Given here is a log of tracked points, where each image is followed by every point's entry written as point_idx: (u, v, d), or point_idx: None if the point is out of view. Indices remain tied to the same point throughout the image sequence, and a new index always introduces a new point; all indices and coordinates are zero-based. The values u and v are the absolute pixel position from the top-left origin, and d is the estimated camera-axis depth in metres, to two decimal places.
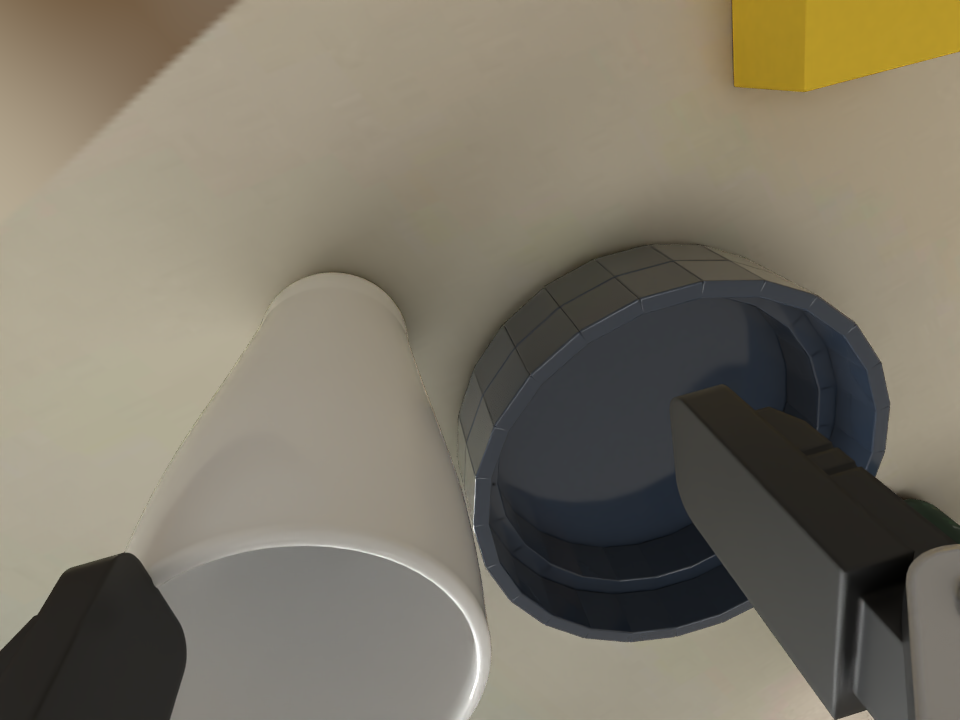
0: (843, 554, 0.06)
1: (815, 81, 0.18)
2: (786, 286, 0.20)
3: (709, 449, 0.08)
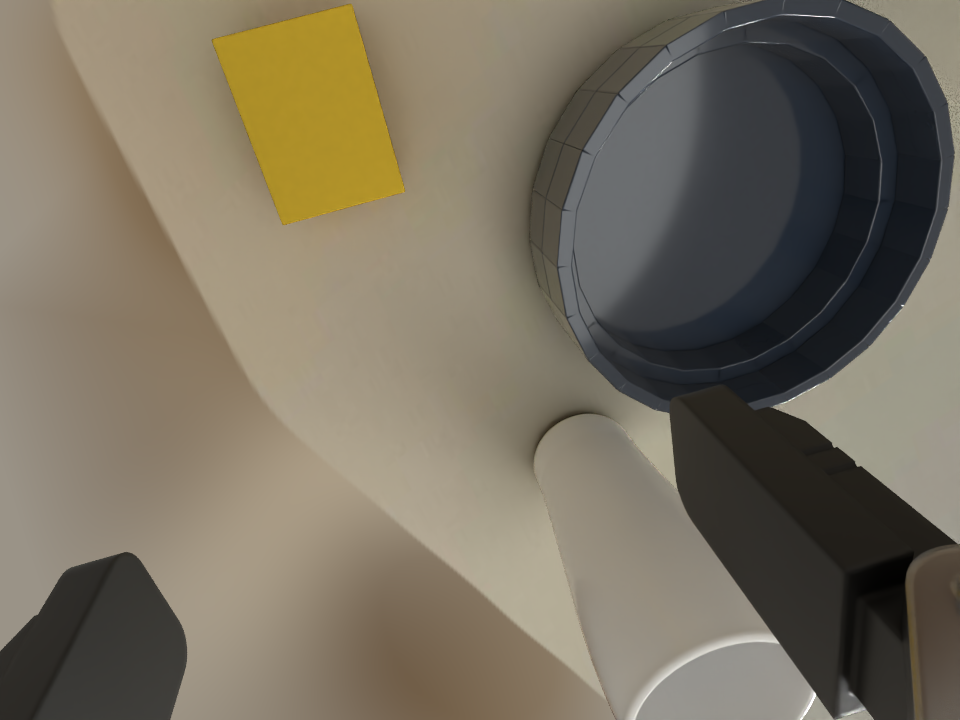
0: (843, 554, 0.06)
1: (396, 183, 0.22)
2: (569, 185, 0.22)
3: (709, 449, 0.08)
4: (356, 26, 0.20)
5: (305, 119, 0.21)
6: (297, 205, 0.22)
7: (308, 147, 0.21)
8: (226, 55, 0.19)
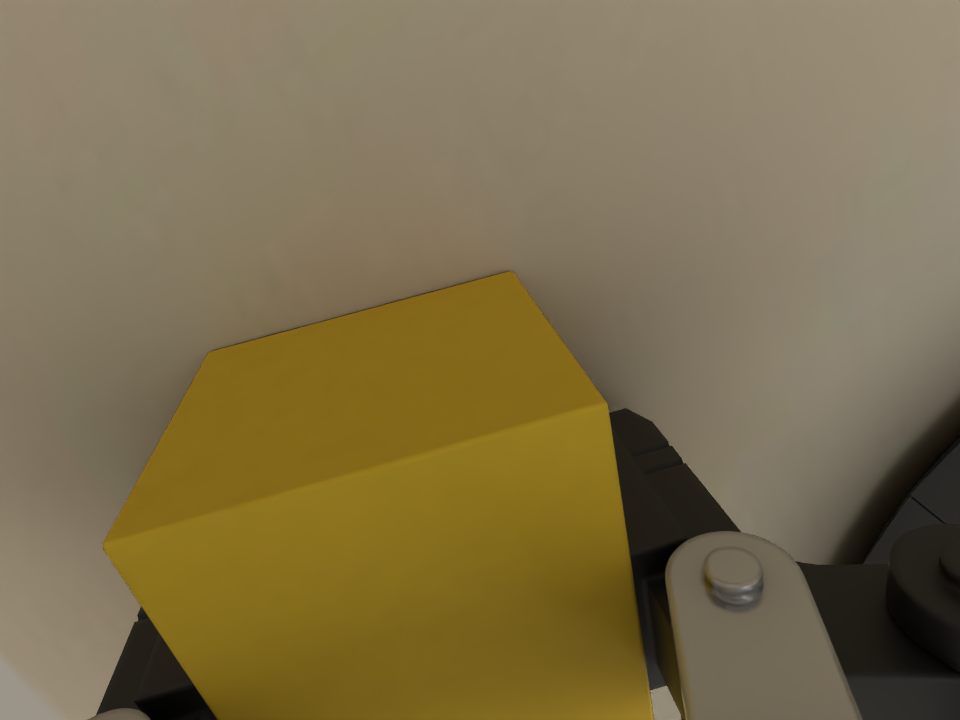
0: (629, 541, 0.06)
1: None
2: None
3: None
4: (611, 462, 0.06)
5: (417, 693, 0.07)
6: None
7: None
8: (158, 580, 0.05)
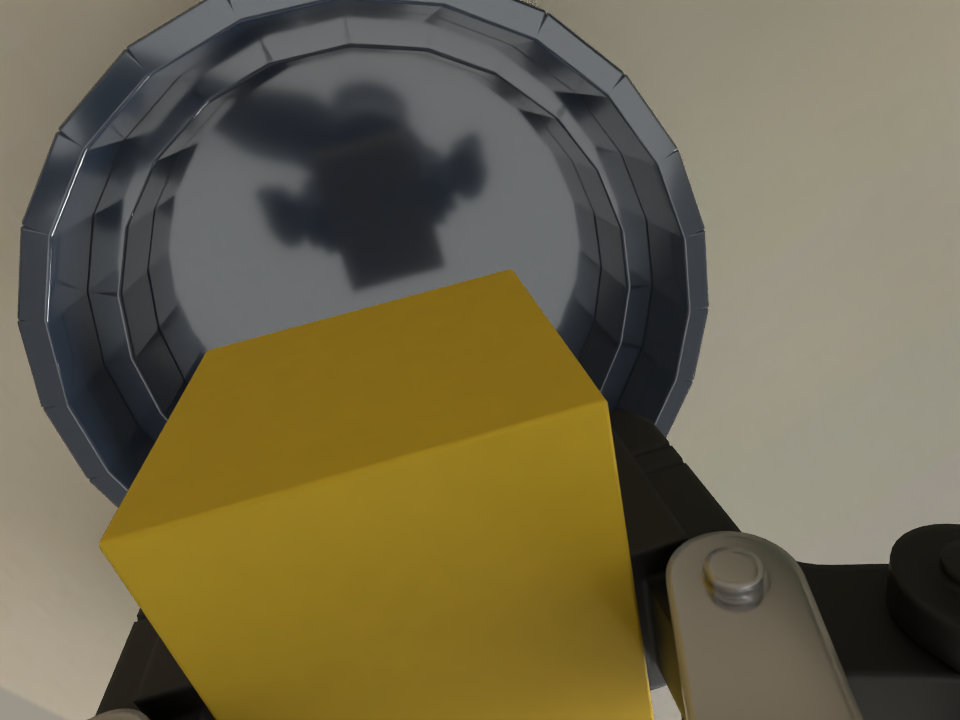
0: (629, 540, 0.06)
1: None
2: None
3: None
4: (611, 460, 0.06)
5: (415, 693, 0.07)
6: None
7: None
8: (155, 579, 0.05)
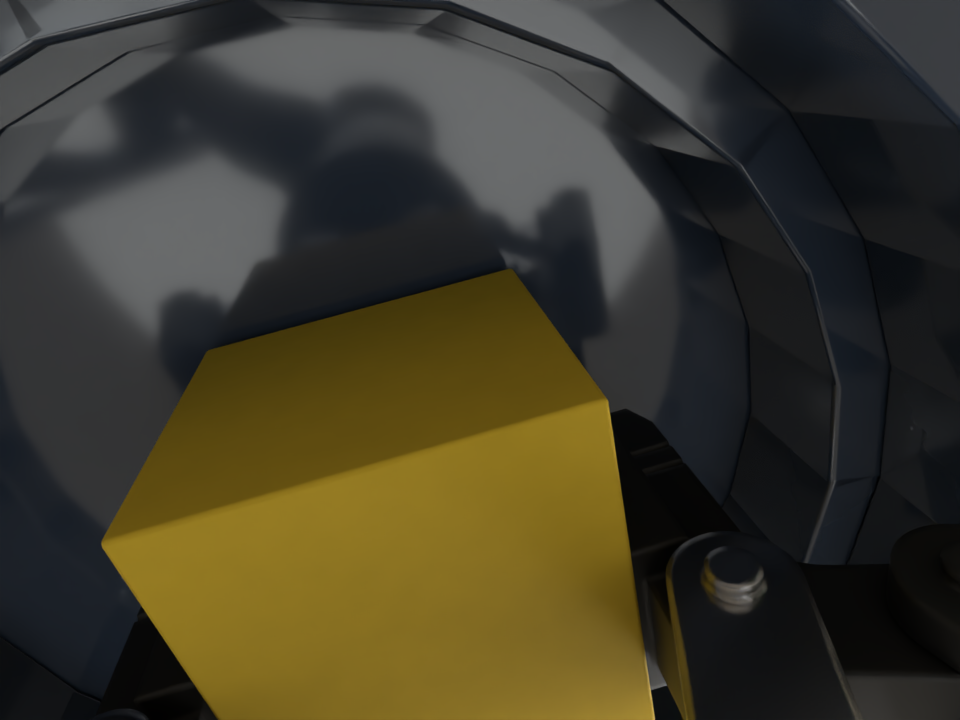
0: (629, 540, 0.06)
1: None
2: None
3: None
4: (611, 459, 0.06)
5: (416, 691, 0.07)
6: None
7: None
8: (157, 578, 0.05)
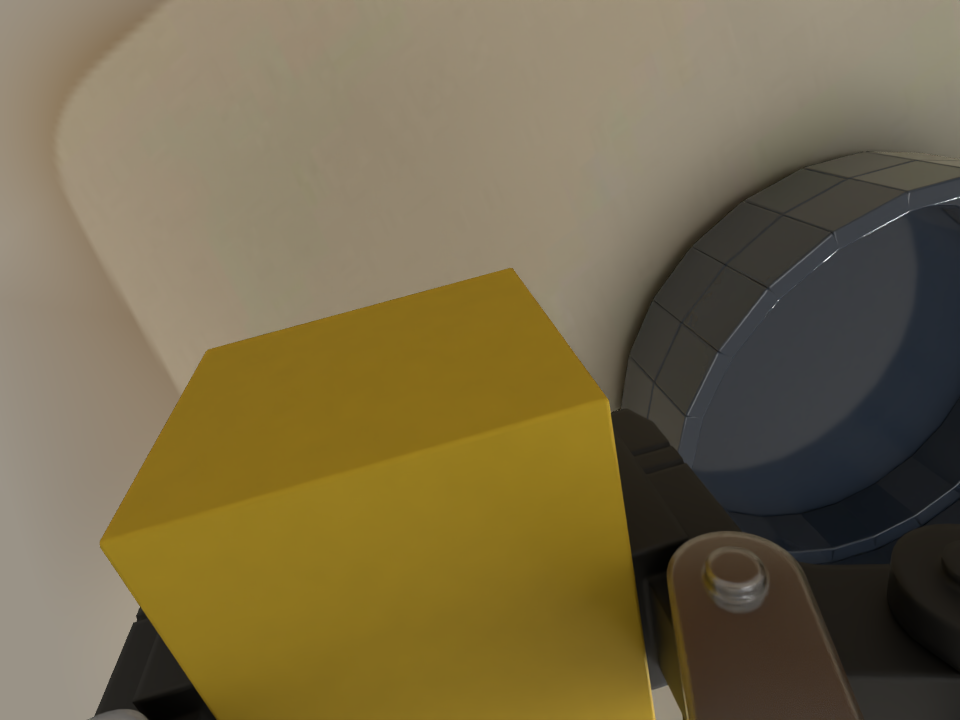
0: (630, 540, 0.06)
1: None
2: (698, 390, 0.18)
3: None
4: (612, 459, 0.06)
5: (416, 692, 0.07)
6: None
7: None
8: (156, 579, 0.05)
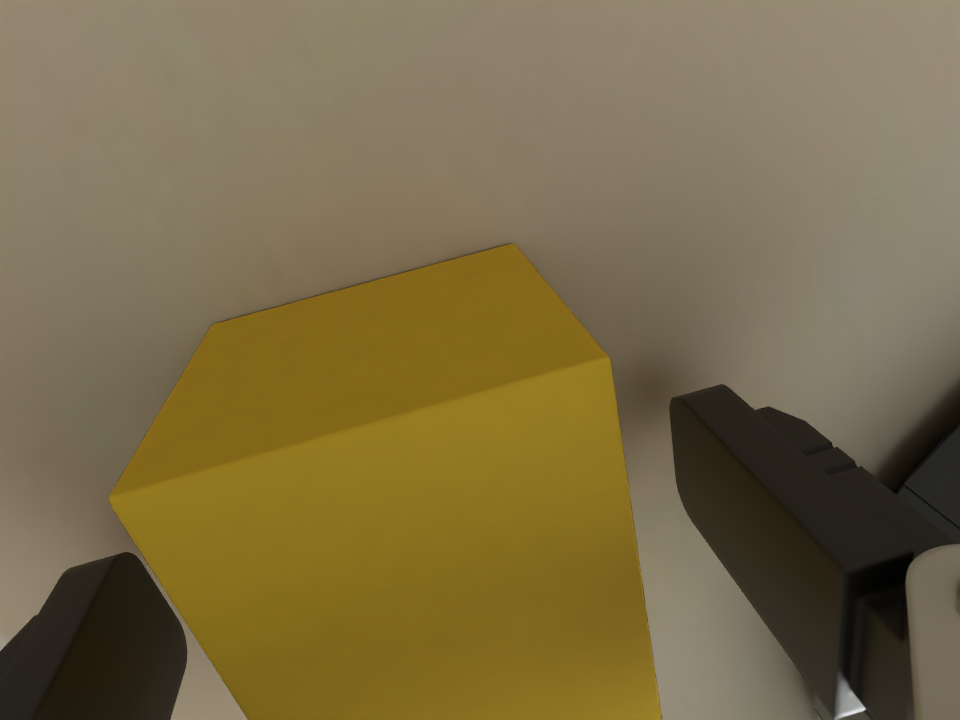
0: (842, 554, 0.06)
1: None
2: None
3: (709, 449, 0.08)
4: (614, 419, 0.06)
5: (420, 655, 0.07)
6: None
7: (419, 709, 0.07)
8: (164, 535, 0.05)
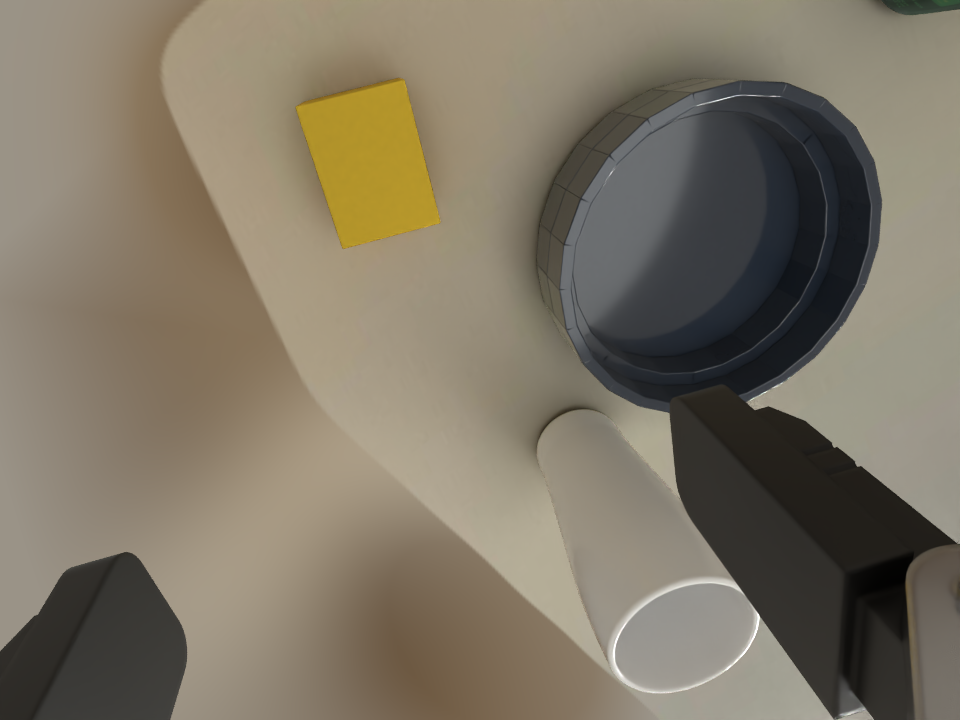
0: (843, 554, 0.06)
1: (434, 216, 0.27)
2: (570, 226, 0.28)
3: (709, 449, 0.08)
4: (407, 96, 0.25)
5: (364, 167, 0.26)
6: (355, 233, 0.27)
7: (365, 188, 0.26)
8: (306, 118, 0.25)
